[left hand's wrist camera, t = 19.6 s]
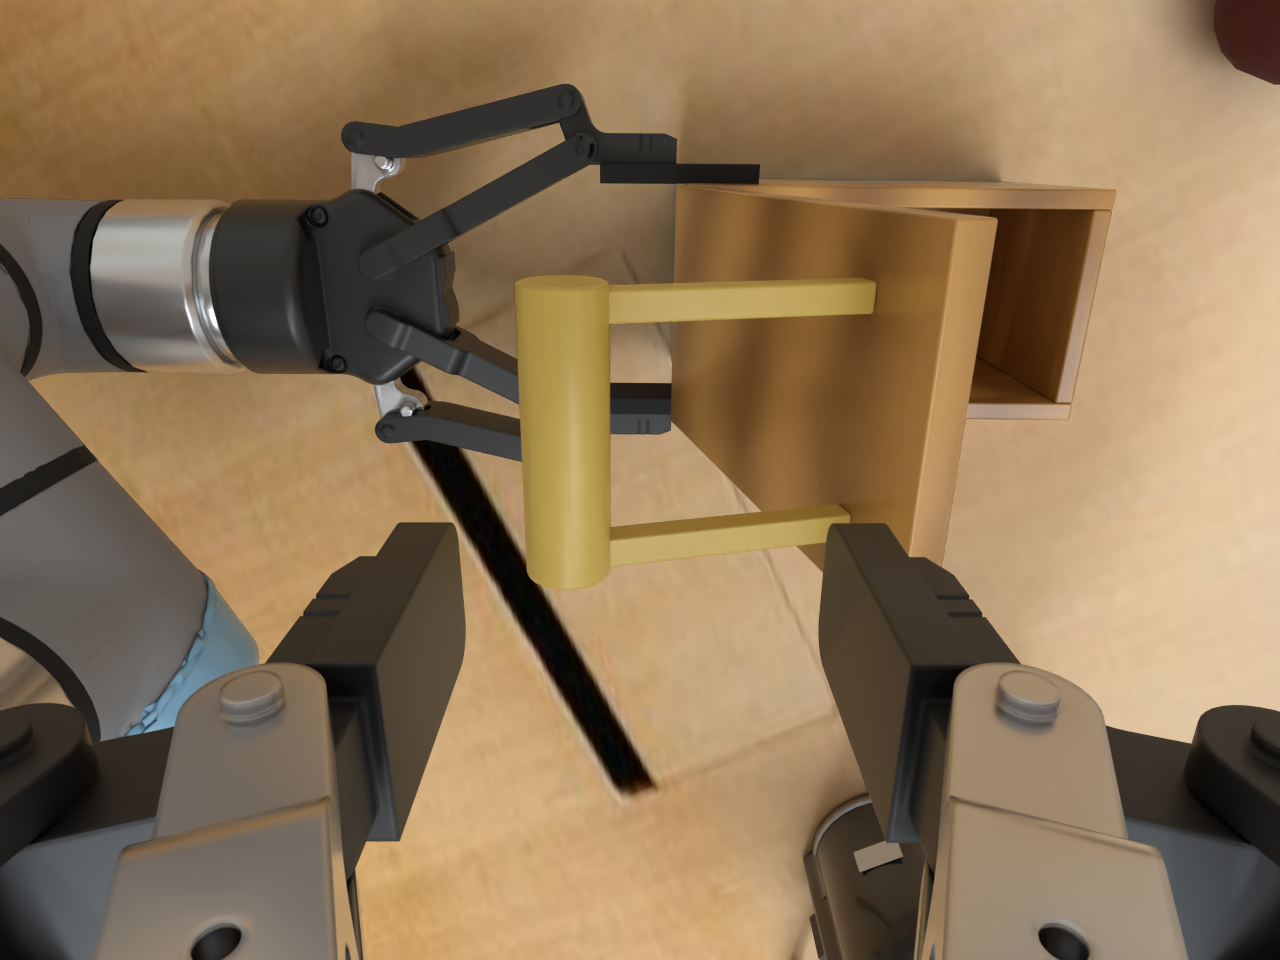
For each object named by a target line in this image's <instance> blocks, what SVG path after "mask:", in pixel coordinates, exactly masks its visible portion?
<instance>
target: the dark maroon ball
mask: <svg viewBox="0 0 1280 960" xmlns="http://www.w3.org/2000/svg"><path fill="white" fill-rule="evenodd" d="M1214 30H1215V33H1216V37H1217V40H1218V43H1219V46H1220V49H1221V51H1222V53H1223V54H1224V55H1225V56H1226V58H1227V59H1228V60H1229V61H1230V62H1231V63H1232V65H1233V66H1234V67H1235V68H1236V69H1238V70H1240V71H1243V72H1245V73H1248V74H1250V75H1253V76H1255V77H1257V78H1260V79H1262V80H1265V81H1267V82H1270V83H1272V84H1274V85H1280V0H1216V3H1215V8H1214Z"/></svg>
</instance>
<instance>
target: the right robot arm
mask: <svg viewBox="0 0 1280 960" xmlns="http://www.w3.org/2000/svg"><path fill="white" fill-rule="evenodd" d="M557 123H560V126H561V129H562V131H563V134H564V137H565V140H566V141H564V142H562V143H560V144H559V145H557V146H555V147H553V148H551V149H550V150H548V151H546V152H544V153H543V154H541V155H539V156H537V157H535V158H534V159H532V160H530V161H528V162H526V163H525V164H523V165H521V166H519V167H517V168H516V169H514V170H512V171H510V172H508V173H507V174H505V175H503V176H501V177H500V178H498V179H496V180H494V181H492V182H491V183H489V184H487V185H485V186H483V187H482V188H480V189H478V190H476V191H474V192H473V193H471V194H469V195H467V196H465V197H464V198H462V199H460V200H458V201H457V202H455V203H453V204H451V205H449V206H448V207H446V208H444V209H441V210H439V211H437V212H435V213H434V214H432V215H430V216H428V217H426V218H425V219H423V220H419V219H418V218H417V217H415V216H414V215H413V214H411V213H410V212H408V211H407V210H406V209H404V208H403V207H401V206H400V205H399V204H397V203H396V202H394V201H393V200H392V199H390V198H389V197H387V196H386V195H385V194H383V193H382V192H381V186H382V184H383V182H384V181H385V180H386V179H388V178H389V177H395V176H399V175H401V174H402V173H403V172H404V170H405V168H406V158H419V157H427V156H432V155H436V154H440V153H444V152H448V151H452V150H455V149H459V148H463V147H467V146H471V145H475V144H479V143H483V142H487V141H490V140H494V139H498V138H502V137H506V136H510V135H514V134H518V133H522V132H526V131H529V130H533V129H537V128H541V127H545V126H549V125H553V124H557ZM341 138H342V142H343V144H344V146H345V147H346V148H347V149H348V150H349V151H350V152H351V190H349V191H347V192H345V193H344V194H342V195H341V196H339V197H337V198H335V199H332V200H239V201H237V202H235V203H233V204H232V205H229V204H227V203H225V202H223V201H222V200H199V199H126V200H108V201H88V200H57V199H26V198H0V710H3V709H7V708H11V707H16V706H21V705H27V704H35V703H58V704H64V705H68V706H72V707H74V708H76V709H78V710H79V711H80V712H81V713H82V714H83V716H84V718H85V720H86V724H87V727H88V730H89V734H90V737H91V741H92V743H95V742H100V741H105V740H110V739H115V738H120V737H125V736H131V735H136V734H141V733H146V732H151V731H156V730H161V729H165V728H169V727H173V726H174V725H175V721H176V716H177V714H178V711H179V709H180V707H181V706H182V704H183V703H184V702H185V701H186V700H187V698H188V697H189V696H190V695H192V694H193V693H194V692H195V691H196V690H198V689H199V688H200V687H202V686H204V685H205V684H207V683H208V682H210V681H212V680H214V679H216V678H218V677H220V676H222V675H225V674H227V673H229V672H232V671H235V670H238V669H241V668H245V667H249V666H253V665H259V652H258V647H257V644H256V642H255V640H254V638H253V637H252V636H251V635H250V633H249V632H248V631H247V629H246V628H245V627H244V625H243V624H242V623H241V621H240V620H239V619H238V617H237V616H236V615H235V613H234V612H233V611H232V609H231V608H230V607H229V605H228V604H227V603H226V601H225V600H224V599H223V597H222V596H221V595H220V593H219V592H218V591H217V589H216V587H215V584H214V583H213V582H212V580H211V579H210V578H209V577H208V576H207V575H206V574H205V573H203V572H202V571H200V570H198V569H197V568H196V567H195V566H194V565H193V564H192V563H191V562H190V561H189V559H188V558H187V557H186V556H185V555H184V554H183V553H182V552H181V551H180V550H179V549H178V548H177V546H176V545H175V544H174V543H173V542H172V541H171V540H170V539H169V538H168V537H167V536H166V534H165V533H164V532H163V531H162V530H161V529H160V528H159V527H158V526H157V525H156V524H155V522H154V521H153V520H152V519H151V518H150V517H149V516H148V515H147V514H146V513H145V512H144V510H143V509H142V508H141V507H140V506H139V505H138V504H137V503H136V502H135V501H134V500H133V499H132V497H131V496H130V495H129V494H128V493H127V492H126V491H125V490H124V489H123V488H122V487H121V485H120V484H119V483H118V482H117V481H116V480H115V479H114V478H113V477H112V476H111V475H110V473H109V472H108V471H107V470H106V469H105V468H104V467H103V466H102V465H101V464H100V463H99V462H98V460H97V459H96V457H95V456H94V455H93V454H92V453H91V452H90V451H89V450H88V449H87V447H86V446H85V445H84V443H83V442H82V441H81V440H80V439H79V438H78V437H77V436H76V434H75V433H74V432H73V431H72V430H71V429H70V428H69V427H68V425H67V424H66V423H65V422H64V421H63V420H62V419H61V418H60V416H59V415H58V414H57V413H56V412H55V411H54V410H53V409H52V407H51V406H50V405H49V404H48V403H47V402H46V401H45V400H44V398H43V397H42V396H41V395H40V394H39V393H38V392H37V391H36V389H35V388H34V387H33V386H32V385H31V384H30V383H29V382H28V381H30V380H33V379H35V378H38V377H41V376H45V375H51V374H58V373H79V372H163V373H215V374H236V373H240V372H243V371H244V370H246V369H247V368H248V369H249V370H251V371H252V372H255V373H260V374H347V375H352V376H355V377H358V378H360V379H362V380H364V381H366V382H368V383H370V384H373V385H374V389H375V394H376V398H377V402H378V407H379V411H380V415H381V420H380V421H379V422H378V423H377V424H376V427H375V433H376V435H377V437H378V438H379V439H380V440H381V441H383V442H385V443H399V442H409V441H419V440H430V441H434V442H439V443H443V444H447V445H452V446H456V447H460V448H465V449H469V450H473V451H478V452H482V453H486V454H491V455H495V456H499V457H504V458H508V459H513V460H517V461H521V462H522V449H521V427H520V419H517V418H513V417H509V416H504V415H500V414H496V413H491V412H487V411H483V410H479V409H474V408H470V407H466V406H462V405H457V404H453V403H448V402H441V401H427V398H426V396H425V395H424V394H423V393H422V392H420V391H418V390H412V389H409V388H407V387H405V386H404V385H403V384H402V382H401V380H400V377H401V376H402V375H403V374H405V373H406V372H407V371H409V370H410V369H411V368H413V367H414V366H415V365H417V364H418V363H419V362H421V361H424V362H426V363H428V364H430V365H432V366H434V367H436V368H438V369H440V370H442V371H444V372H446V373H449V374H452V375H460V376H462V377H464V378H466V379H468V380H470V381H472V382H474V383H476V384H478V385H481V386H483V387H485V388H487V389H489V390H491V391H493V392H495V393H497V394H499V395H501V396H503V397H505V398H507V399H509V400H511V401H513V402H515V403H517V404H519V382H518V360H517V359H516V358H514V357H512V356H510V355H508V354H506V353H504V352H502V351H500V350H498V349H496V348H494V347H492V346H490V345H488V344H486V343H484V342H482V341H480V340H479V339H478V338H477V337H476V336H475V335H474V334H472V333H470V332H468V331H466V330H464V329H462V328H460V327H458V326H456V323H457V322H458V321H459V310H458V302H457V299H456V297H455V294H454V291H453V287H452V285H453V279H454V274H455V256H454V252H451V250H450V248H449V246H448V244H447V243H449V242H450V241H452V240H454V239H456V238H458V237H460V236H461V235H463V234H465V233H467V232H469V231H470V230H472V229H474V228H475V227H477V226H479V225H481V224H483V223H485V222H486V221H488V220H490V219H492V218H494V217H495V216H497V215H499V214H501V213H503V212H505V211H506V210H508V209H510V208H512V207H514V206H515V205H517V204H519V203H521V202H523V201H525V200H526V199H528V198H530V197H532V196H534V195H535V194H537V193H539V192H541V191H543V190H545V189H546V188H548V187H550V186H552V185H554V184H556V183H557V182H559V181H561V180H563V179H565V178H566V177H568V176H570V175H572V174H574V173H576V172H577V171H579V170H581V169H583V168H585V167H586V166H588V165H600V183H640V184H684V183H728V184H759V172H760V165H757V164H676V154H677V139H676V138H673V137H671V136H669V135H667V134H639V133H603V132H601V131H599V130H597V129H596V128H595V126H594V125H593V123H592V121H591V118H590V115H589V113H588V110H587V107H586V104H585V100H584V98H583V96H582V94H581V93H580V92H579V91H578V90H577V89H576V88H575V87H574V86H572V85H570V84H561V85H557V86H553V87H549V88H545V89H542V90H538V91H534V92H530V93H526V94H522V95H518V96H515V97H511V98H507V99H503V100H499V101H495V102H492V103H488V104H484V105H480V106H476V107H472V108H469V109H465V110H461V111H457V112H453V113H449V114H446V115H442V116H438V117H434V118H430V119H426V120H423V121H419V122H415V123H411V124H407V125H403V126H400V127H395V126H387V125H379V124H371V123H363V122H350V123H348V124H346V125H345V126H344V128H343V129H342V134H341ZM671 389H672V383H610V434H662V433H665V432H668V431H670V430H671ZM519 405H520V404H519Z"/></svg>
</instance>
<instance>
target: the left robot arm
mask: <svg viewBox="0 0 1280 960" xmlns="http://www.w3.org/2000/svg"><path fill="white" fill-rule="evenodd" d="M303 613H304V614H303V616H300V617H299V618H298V620H297V621H296V622H295V624H294V625H293V626H292V628H291V629H290V631H289V632H288V633H287V635H286V636H285V637H284V639H283V640H282V641H281V643H280V644H279V645H278V647H277V648H276V649H275V651H274V652H273V653H272V655H271V656H270V657H269V659H268V660H267V661H266V663H265V664H259V665H253V666H249V667H245V668H241V669H238V670H235V671H232V672H229V673H227V674H225V675H222V676H220V677H218V678H216V679H214V680H212V681H210V682H208V683H207V684H205V685H204V686H202V687H200V688H199V689H198V690H196V691H195V692H194V693H193V694H192V695H190V696H189V697H188V698H187V700H186V701H185V702H184V703H183V704H182V706H181V707H180V709H179V711H178V714H177V716H176V721H175V725H174V726H173V727H169V728H165V729H161V730H156V731H151V732H146V733H141V734H136V735H131V736H125V737H120V738H115V739H110V740H105V741H100V742H95V743H92V741H91V737H90V734H89V730H88V727H87V724H86V720H85V718H84V716H83V714H82V713H81V712H80V711H79V710H78V709H76V708H74V707H72V706H68V705H64V704H58V703H35V704H27V705H21V706H16V707H11V708H7V709H3V710H0V960H366V953H365V943H364V932H363V922H362V911H361V901H360V890H359V883H358V877H357V871H356V865H357V863H358V860H359V858H360V855H361V853H362V850H363V848H364V845H365V843H366V841H400V838H401V836H402V833H403V830H404V827H405V824H406V821H407V819H408V816H409V813H410V810H411V807H412V804H413V802H414V799H415V796H416V793H417V790H418V787H419V785H420V782H421V779H422V776H423V773H424V770H425V768H426V765H427V762H428V759H429V756H430V753H431V751H432V748H433V745H434V742H435V739H436V736H437V734H438V731H439V728H440V725H441V722H442V719H443V717H444V714H445V711H446V708H447V705H448V702H449V700H450V697H451V694H452V691H453V688H454V685H455V682H456V680H457V677H458V674H459V671H460V668H461V665H462V661H463V656H464V649H465V636H466V624H465V611H464V600H463V588H462V577H461V566H460V554H459V543H458V536H457V531H456V528H455V525H454V524H453V523H398V524H397V525H396V527H395V528H394V530H393V531H392V533H391V534H390V536H389V537H388V539H387V540H386V542H385V543H384V545H383V546H382V548H381V549H380V551H379V552H378V554H377V555H376V556H360V557H358V558H356V559H355V560H353V561H352V562H350V563H348V564H347V565H345V566H344V567H342V568H340V569H339V570H337V571H336V572H334V573H332V574H331V575H330V577H329V578H328V579H327V581H326V582H325V583H324V585H323V586H322V587H321V589H320V590H319V592H318V593H317V594H316V599H313V600H312V601H311V602H310V604H309V605H308V606H307V608H306V609H305V610H304V612H303ZM819 649H820V656H821V661H822V665H823V668H824V671H825V674H826V677H827V680H828V682H829V685H830V688H831V691H832V693H833V696H834V699H835V702H836V705H837V707H838V710H839V713H840V716H841V718H842V721H843V724H844V727H845V729H846V732H847V735H848V738H849V741H850V743H851V746H852V749H853V752H854V754H855V757H856V760H857V763H858V766H859V768H860V771H861V774H862V777H863V779H864V782H865V785H866V788H867V791H868V793H869V795H865V796H861V797H858V798H855V799H853V800H851V801H849V802H847V803H845V804H843V805H841V806H840V807H838V808H837V809H835V810H834V811H833V812H832V813H831V814H829V815H828V817H827V818H826V819H825V820H824V821H823V822H822V824H821V825H820V827H819V828H818V830H817V832H816V835H815V837H814V841H813V848H812V852H811V853H810V854H809V855H807V856H806V857H805V858H804V859H803V863H804V868H805V872H806V876H807V881H808V885H809V889H810V894H811V898H812V902H813V907H814V911H815V913H814V914H813V915H812V916H810V917H809V918H810V922H811V927H812V931H813V936H814V940H815V945H816V949H817V954H818V958H819V959H820V960H1280V712H1279V711H1275V710H1271V709H1266V708H1261V707H1254V706H1246V705H1229V706H1220V707H1216V708H1212V709H1210V710H1208V711H1206V712H1205V713H1204V714H1203V715H1202V716H1201V717H1200V719H1199V721H1198V724H1197V727H1196V730H1195V734H1194V737H1193V740H1192V744H1190V743H1185V742H1180V741H1175V740H1169V739H1164V738H1159V737H1154V736H1149V735H1144V734H1139V733H1134V732H1129V731H1124V730H1120V729H1116V728H1112V727H1109V726H1106V725H1105V721H1104V716H1103V714H1102V711H1101V709H1100V707H1099V706H1098V704H1097V703H1096V702H1095V701H1094V700H1093V698H1092V697H1091V696H1090V695H1088V694H1087V693H1086V692H1085V691H1084V690H1082V689H1081V688H1080V687H1078V686H1076V685H1075V684H1073V683H1072V682H1070V681H1068V680H1066V679H1064V678H1062V677H1060V676H1058V675H1055V674H1053V673H1051V672H1048V671H1045V670H1042V669H1039V668H1035V667H1031V666H1027V665H1021V664H1020V662H1019V661H1018V660H1017V658H1016V657H1015V656H1014V654H1013V653H1012V652H1011V650H1010V649H1009V648H1008V646H1007V645H1006V644H1005V642H1004V641H1003V640H1002V638H1001V637H1000V636H999V634H998V633H997V632H996V631H995V629H994V628H993V627H992V625H991V624H990V623H989V621H988V620H987V619H986V617H982V612H981V611H980V609H979V608H978V607H977V605H976V604H975V603H974V601H973V600H969V595H968V593H967V592H966V591H965V589H964V588H963V587H962V585H961V584H960V583H959V581H958V580H957V579H956V578H955V576H954V575H953V574H951V573H950V572H948V571H947V570H945V569H943V568H942V567H940V566H938V565H937V564H935V563H934V562H932V561H930V560H929V559H927V558H926V557H909V556H908V555H907V553H906V552H905V550H904V549H903V547H902V546H901V544H900V543H899V541H898V540H897V538H896V537H895V535H894V534H893V532H892V531H891V529H890V528H889V527H888V525H887V524H885V523H832V524H831V525H830V527H829V529H828V533H827V538H826V547H825V558H824V569H823V581H822V592H821V603H820V614H819Z"/></svg>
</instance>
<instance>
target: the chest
mask: <svg viewBox="0 0 1280 960" xmlns="http://www.w3.org/2000/svg"><path fill="white" fill-rule="evenodd" d="M677 186H706V187H715V188H725V189H734V190H743V191H753V192H762V193H771V194H781V195H790V196H799V197H808V198H818V199H827V200H836V201H846V202H855V203H864V204H874V205H883V206H892V207H902V208H911V209H920V210H929V211H939V212H948V213H957V214H967V215H976V216H985V217H995V218H996V219H997V220H998V222H997V229H996V235H995V241H994V247H993V253H992V260H991V266H990V272H989V278H988V284H987V291H986V297H985V303H984V309H983V315H982V322H981V328H980V334H979V340H978V346H977V353H976V359H975V365H974V371H973V377H972V384H971V390H970V396H969V402H968V408H967V415H966V419H1017V420H1068V419H1069V415H1070V410H1071V406H1072V405H1071V403H1072V400H1073V395H1074V391H1075V386H1076V381H1077V376H1078V371H1079V367H1080V362H1081V357H1082V352H1083V347H1084V343H1085V338H1086V333H1087V328H1088V324H1089V319H1090V314H1091V309H1092V304H1093V300H1094V295H1095V290H1096V285H1097V280H1098V276H1099V271H1100V266H1101V261H1102V256H1103V252H1104V247H1105V242H1106V237H1107V233H1108V228H1109V223H1110V218H1111V213H1112V211H1111V209H1112V208H1113V205H1114V200H1115V195H1116V190H1112V189H1097V188H1083V187H1069V186H1054V185H1040V184H1026V183H1012V182H996V181H904V180H811V179H759V184H728V183H684V184H676V188H677ZM675 228H676V192H675ZM674 268H675V233H674ZM673 283H674V274H673ZM672 349H673V322H672ZM671 359H672V355H671Z"/></svg>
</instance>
